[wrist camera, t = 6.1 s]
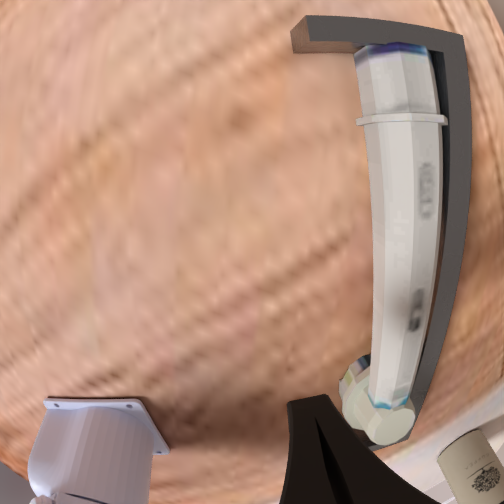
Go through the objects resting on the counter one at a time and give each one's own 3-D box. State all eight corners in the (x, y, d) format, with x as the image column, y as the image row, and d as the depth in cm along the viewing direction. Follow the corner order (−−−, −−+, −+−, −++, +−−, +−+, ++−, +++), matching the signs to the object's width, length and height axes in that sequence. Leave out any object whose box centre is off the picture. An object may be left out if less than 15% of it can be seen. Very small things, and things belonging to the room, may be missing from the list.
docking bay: (314, 439, 26) (321, 465, 23) (290, 31, 13) (305, 15, 10) (396, 416, 26) (408, 439, 23) (430, 41, 13) (462, 35, 11)
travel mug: (469, 448, 35) (511, 526, 19) (429, 467, 35) (469, 554, 19) (487, 420, 32) (539, 507, 16) (446, 442, 32) (495, 540, 15)
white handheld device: (458, 50, 10) (423, 452, 18) (394, 75, 17) (390, 399, 24) (362, 34, 10) (358, 475, 17) (317, 71, 16) (333, 414, 24)
